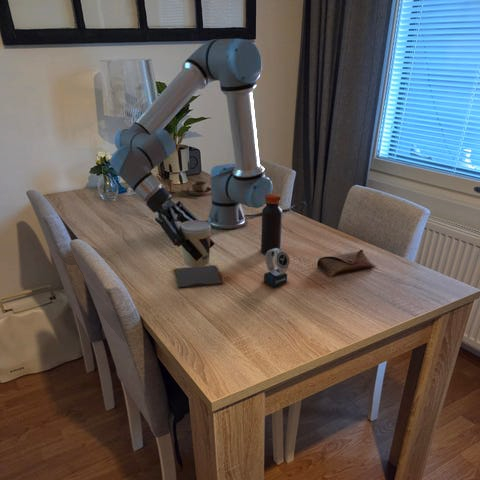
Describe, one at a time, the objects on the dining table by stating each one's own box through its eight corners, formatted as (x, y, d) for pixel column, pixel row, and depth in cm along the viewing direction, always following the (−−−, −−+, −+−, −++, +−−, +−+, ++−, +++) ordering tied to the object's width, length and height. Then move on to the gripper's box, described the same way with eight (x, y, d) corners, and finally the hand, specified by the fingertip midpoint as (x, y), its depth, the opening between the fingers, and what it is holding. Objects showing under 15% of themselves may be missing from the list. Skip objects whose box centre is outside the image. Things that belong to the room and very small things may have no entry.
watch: (277, 290, 133) (279, 256, 127) (260, 280, 138) (261, 247, 133) (291, 285, 136) (293, 251, 130) (273, 275, 141) (275, 243, 135)
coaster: (214, 266, 147) (214, 265, 147) (221, 284, 136) (221, 282, 136) (175, 270, 145) (175, 268, 144) (179, 288, 134) (179, 286, 134)
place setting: (198, 199, 210) (197, 187, 207) (166, 192, 219) (165, 180, 216) (219, 190, 223) (219, 178, 220) (188, 184, 232) (187, 173, 229)
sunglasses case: (331, 276, 140) (327, 255, 139) (319, 278, 146) (315, 258, 146) (376, 266, 146) (372, 246, 146) (363, 269, 153) (359, 250, 152)
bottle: (271, 256, 154) (274, 199, 143) (257, 251, 158) (258, 195, 147) (283, 251, 158) (287, 195, 147) (269, 246, 162) (271, 191, 151)
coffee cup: (207, 269, 133) (206, 231, 127) (177, 266, 135) (174, 229, 128) (215, 257, 141) (214, 220, 135) (186, 254, 142) (184, 218, 136)
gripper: (163, 193, 142) (211, 246, 146) (128, 213, 124) (183, 273, 128) (177, 177, 137) (226, 233, 141) (142, 196, 120) (199, 259, 124)
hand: (206, 252), depth 135 cm, fingers closed on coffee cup, 9 cm apart
